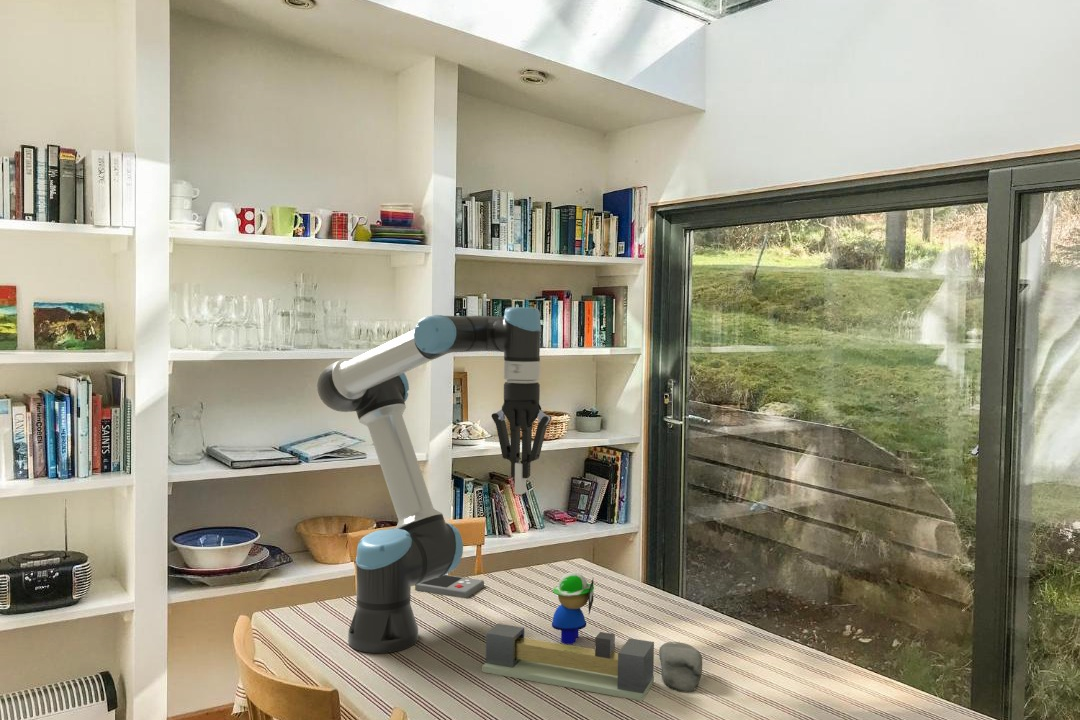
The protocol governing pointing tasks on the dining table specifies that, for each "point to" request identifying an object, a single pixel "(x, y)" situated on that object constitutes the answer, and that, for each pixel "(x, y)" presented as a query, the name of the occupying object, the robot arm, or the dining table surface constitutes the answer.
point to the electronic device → (451, 586)
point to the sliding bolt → (572, 654)
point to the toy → (572, 605)
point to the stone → (680, 666)
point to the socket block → (635, 665)
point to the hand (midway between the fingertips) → (520, 493)
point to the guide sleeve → (502, 645)
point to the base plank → (565, 678)
